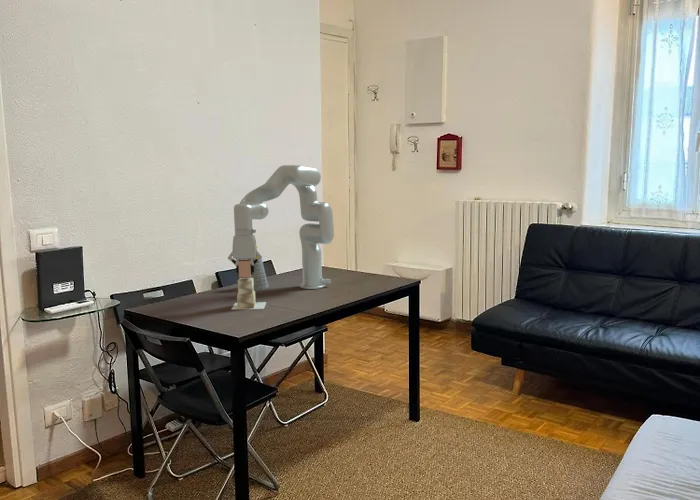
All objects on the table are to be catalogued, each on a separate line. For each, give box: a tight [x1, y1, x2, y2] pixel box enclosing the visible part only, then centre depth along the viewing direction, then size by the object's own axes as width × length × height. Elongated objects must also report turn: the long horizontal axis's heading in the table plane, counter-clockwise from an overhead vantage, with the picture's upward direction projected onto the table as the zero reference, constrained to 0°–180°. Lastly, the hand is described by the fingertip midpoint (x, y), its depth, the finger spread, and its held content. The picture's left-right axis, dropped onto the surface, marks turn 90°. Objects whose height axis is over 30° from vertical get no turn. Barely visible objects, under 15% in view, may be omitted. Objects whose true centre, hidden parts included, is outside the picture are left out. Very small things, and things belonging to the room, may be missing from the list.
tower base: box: [236, 291, 257, 308], centre depth 279 cm, size 7×7×6 cm
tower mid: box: [237, 277, 254, 295], centre depth 279 cm, size 6×6×6 cm
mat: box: [231, 301, 267, 311], centre depth 281 cm, size 14×12×1 cm
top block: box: [238, 259, 252, 278], centre depth 277 cm, size 5×5×7 cm
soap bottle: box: [244, 245, 269, 292], centre depth 317 cm, size 12×12×20 cm
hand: (245, 273), depth 278 cm, fingers closed on top block, 4 cm apart
